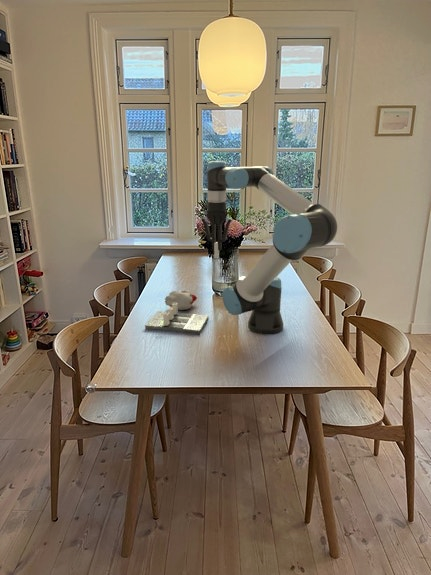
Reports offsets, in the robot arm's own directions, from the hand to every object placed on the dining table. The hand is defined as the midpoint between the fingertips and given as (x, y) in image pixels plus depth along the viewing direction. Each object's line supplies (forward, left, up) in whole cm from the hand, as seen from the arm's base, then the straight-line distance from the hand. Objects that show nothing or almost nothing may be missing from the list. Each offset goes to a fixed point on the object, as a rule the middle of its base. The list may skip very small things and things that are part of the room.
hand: (216, 257), depth 169 cm
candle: (+19, -12, -30) cm, 37 cm away
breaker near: (+19, +13, -27) cm, 35 cm away
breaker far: (+19, +1, -27) cm, 33 cm away
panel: (+16, +7, -29) cm, 34 cm away
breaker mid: (+19, +7, -27) cm, 34 cm away
